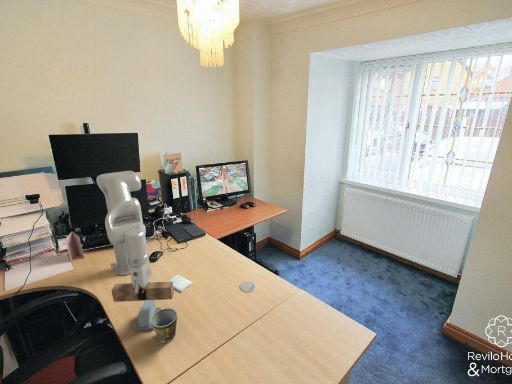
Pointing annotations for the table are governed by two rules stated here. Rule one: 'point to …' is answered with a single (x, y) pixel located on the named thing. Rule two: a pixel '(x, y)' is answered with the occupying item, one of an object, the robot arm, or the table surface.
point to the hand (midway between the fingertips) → (144, 295)
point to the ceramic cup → (165, 324)
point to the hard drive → (180, 283)
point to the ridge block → (146, 316)
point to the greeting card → (74, 245)
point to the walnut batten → (152, 290)
